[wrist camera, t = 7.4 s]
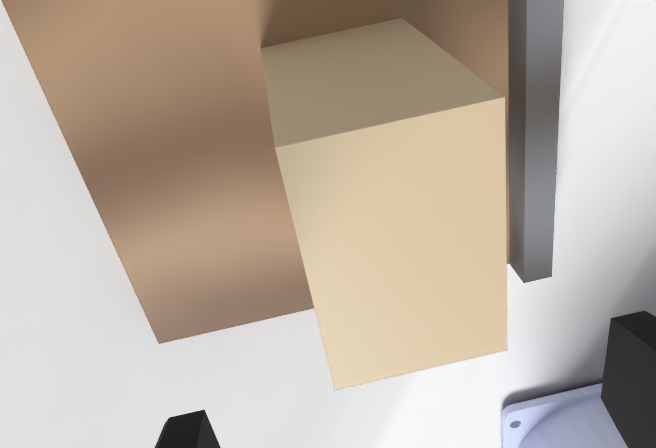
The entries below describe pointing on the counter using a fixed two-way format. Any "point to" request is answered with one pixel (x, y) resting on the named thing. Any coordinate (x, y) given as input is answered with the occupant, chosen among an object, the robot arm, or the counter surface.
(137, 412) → the counter surface
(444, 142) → the box
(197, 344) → the counter surface
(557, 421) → the robot arm
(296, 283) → the tan tray
